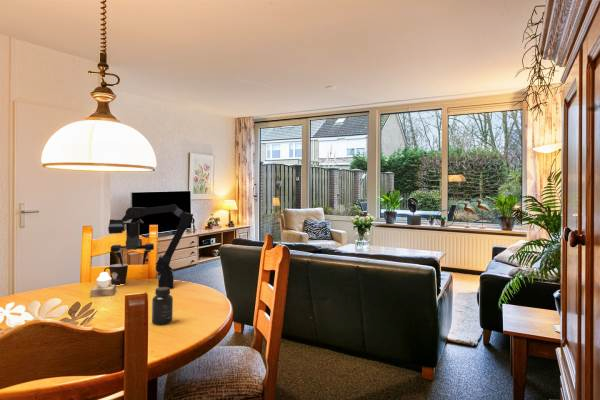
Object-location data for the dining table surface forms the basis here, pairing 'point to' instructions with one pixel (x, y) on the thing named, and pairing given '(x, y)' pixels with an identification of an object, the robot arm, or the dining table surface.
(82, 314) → the dining table surface
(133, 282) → the dining table surface
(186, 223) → the robot arm
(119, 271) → the coffee mug
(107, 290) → the brown flat block
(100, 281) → the muffin
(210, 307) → the dining table surface
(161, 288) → the supplement bottle
